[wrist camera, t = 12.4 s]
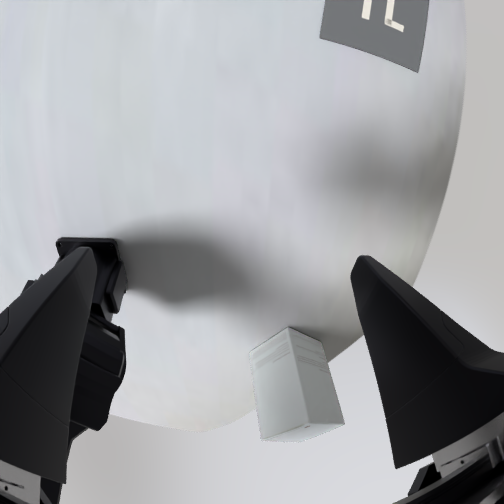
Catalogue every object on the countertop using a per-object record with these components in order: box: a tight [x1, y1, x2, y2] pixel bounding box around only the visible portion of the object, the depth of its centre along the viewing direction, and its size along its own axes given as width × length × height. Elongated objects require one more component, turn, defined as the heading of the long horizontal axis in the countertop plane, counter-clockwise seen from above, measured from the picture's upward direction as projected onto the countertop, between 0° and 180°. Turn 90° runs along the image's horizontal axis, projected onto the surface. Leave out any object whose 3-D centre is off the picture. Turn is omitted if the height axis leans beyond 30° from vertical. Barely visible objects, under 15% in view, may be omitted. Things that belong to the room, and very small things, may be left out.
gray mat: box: [320, 0, 429, 73], centre depth 13 cm, size 9×9×1 cm
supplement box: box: [249, 327, 345, 442], centre depth 32 cm, size 7×7×13 cm
